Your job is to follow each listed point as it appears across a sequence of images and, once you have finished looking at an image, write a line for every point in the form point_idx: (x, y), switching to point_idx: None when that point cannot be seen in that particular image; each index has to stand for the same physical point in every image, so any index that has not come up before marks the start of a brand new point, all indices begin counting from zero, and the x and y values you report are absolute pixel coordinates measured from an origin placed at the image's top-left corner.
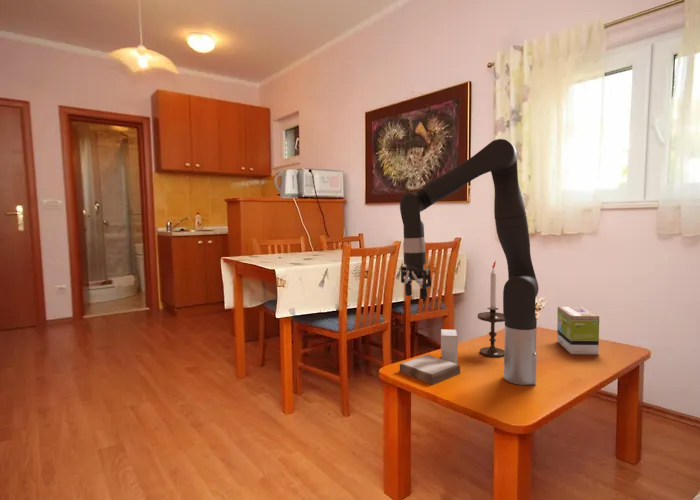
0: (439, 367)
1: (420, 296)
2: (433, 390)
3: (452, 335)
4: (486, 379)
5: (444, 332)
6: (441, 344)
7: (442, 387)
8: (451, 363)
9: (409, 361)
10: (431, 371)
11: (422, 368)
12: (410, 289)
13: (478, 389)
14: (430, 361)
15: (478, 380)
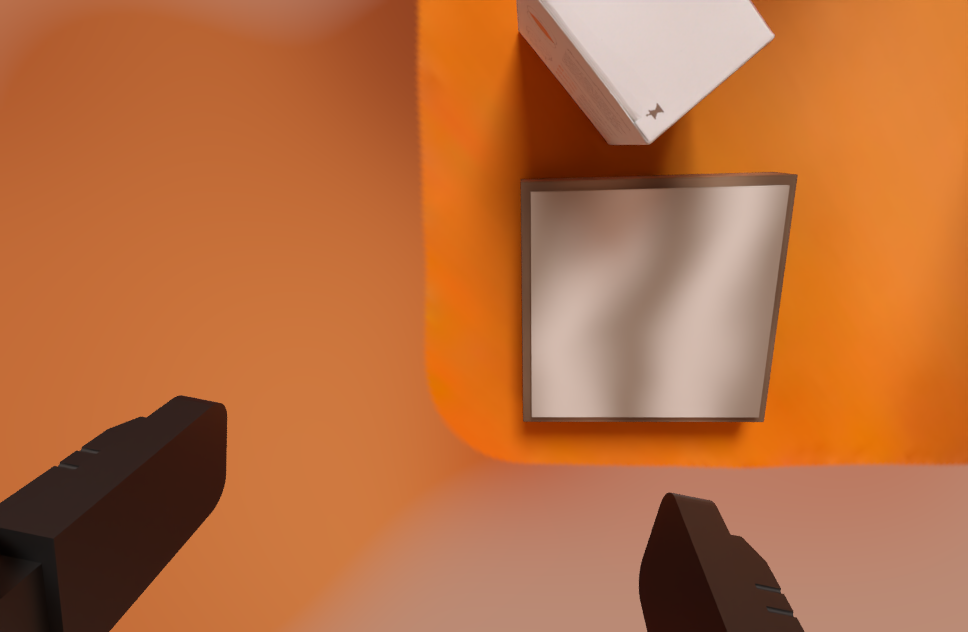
0: (729, 313)
1: (655, 627)
2: (785, 442)
3: (734, 66)
4: (944, 129)
5: (614, 41)
6: (634, 144)
7: (800, 389)
8: (748, 206)
9: (540, 367)
10: (730, 389)
11: (666, 393)
12: (145, 493)
13: (961, 280)
14: (628, 277)
15: (911, 179)
